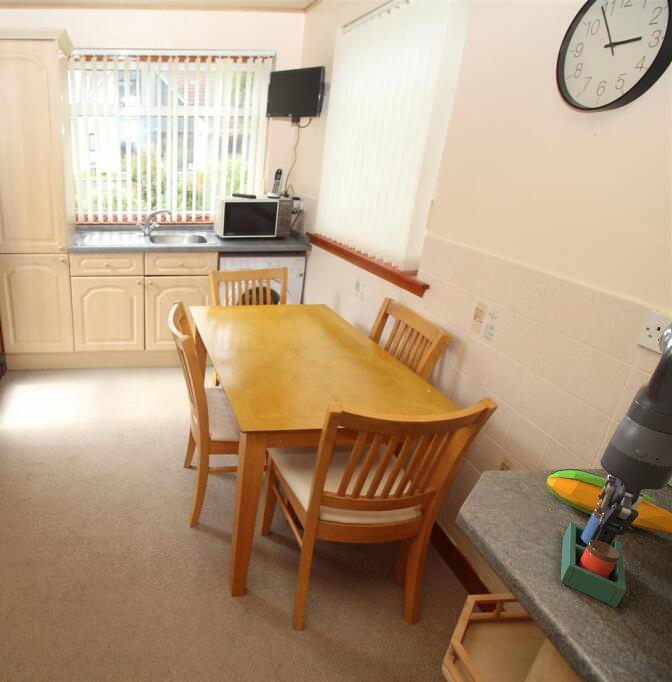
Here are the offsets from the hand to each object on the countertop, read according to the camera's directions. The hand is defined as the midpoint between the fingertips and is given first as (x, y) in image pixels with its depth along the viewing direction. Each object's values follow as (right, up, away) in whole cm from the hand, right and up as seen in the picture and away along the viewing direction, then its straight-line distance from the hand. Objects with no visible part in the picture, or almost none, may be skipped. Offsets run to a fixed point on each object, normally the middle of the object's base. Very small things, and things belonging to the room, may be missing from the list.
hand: (598, 536), depth 77 cm
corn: (+13, -1, +12) cm, 17 cm away
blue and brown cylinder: (0, -1, 0) cm, 1 cm away
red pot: (-4, -5, -3) cm, 7 cm away
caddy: (-2, -5, 0) cm, 6 cm away
